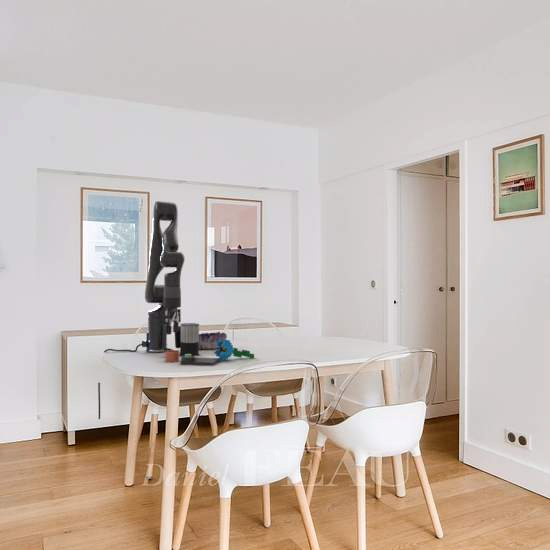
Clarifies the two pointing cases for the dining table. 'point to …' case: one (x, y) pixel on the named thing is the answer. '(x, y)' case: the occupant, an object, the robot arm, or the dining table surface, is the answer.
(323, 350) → the dining table surface
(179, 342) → the milk frother
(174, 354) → the bowl
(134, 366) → the dining table surface
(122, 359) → the dining table surface
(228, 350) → the toy flower
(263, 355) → the dining table surface
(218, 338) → the geode
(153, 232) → the robot arm
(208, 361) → the scale
